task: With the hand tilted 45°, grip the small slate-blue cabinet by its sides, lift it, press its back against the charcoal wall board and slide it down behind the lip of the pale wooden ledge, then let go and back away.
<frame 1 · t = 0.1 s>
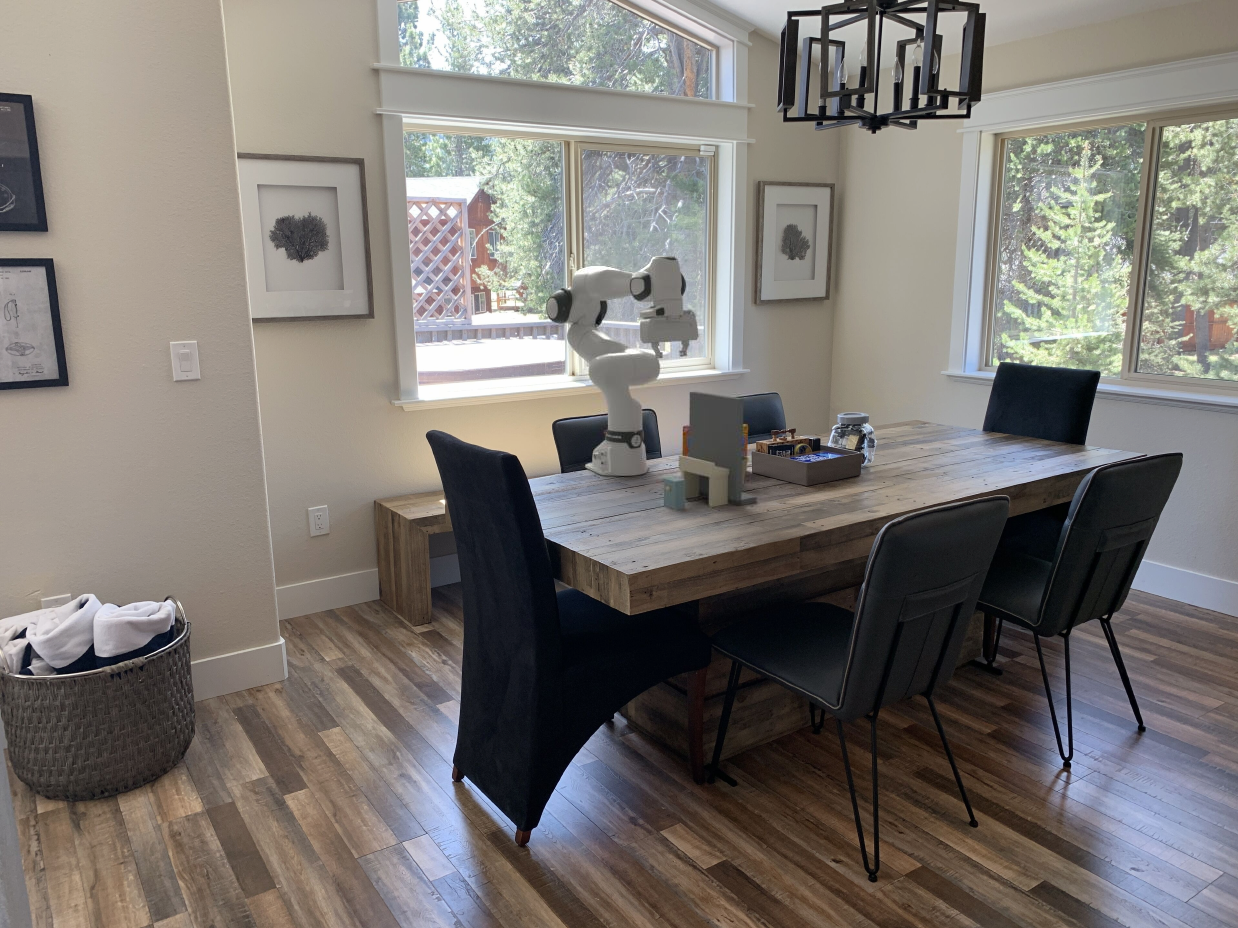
hand: (671, 357, 271), 39 cm above the table, tool pointing down, fingers open, 8 cm apart
small cabinet: (674, 507, 252), on the table
flower pot: (732, 486, 277), on the table
wall board: (714, 498, 261), on the table
game box: (714, 472, 297), on the table
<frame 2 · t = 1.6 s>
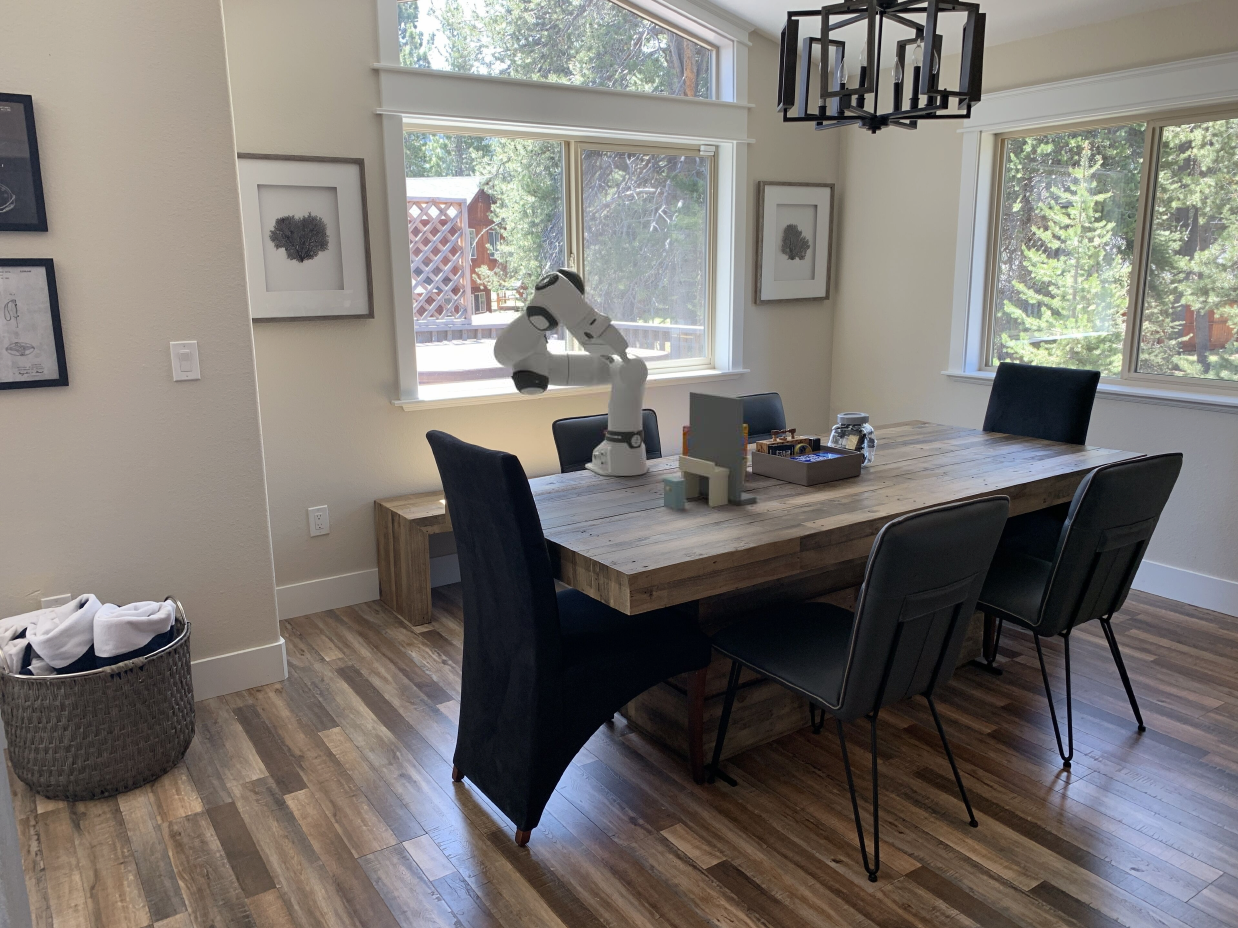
hand: (620, 363, 239), 40 cm above the table, tool tilted 45°, fingers open, 8 cm apart
nothing on the table moved.
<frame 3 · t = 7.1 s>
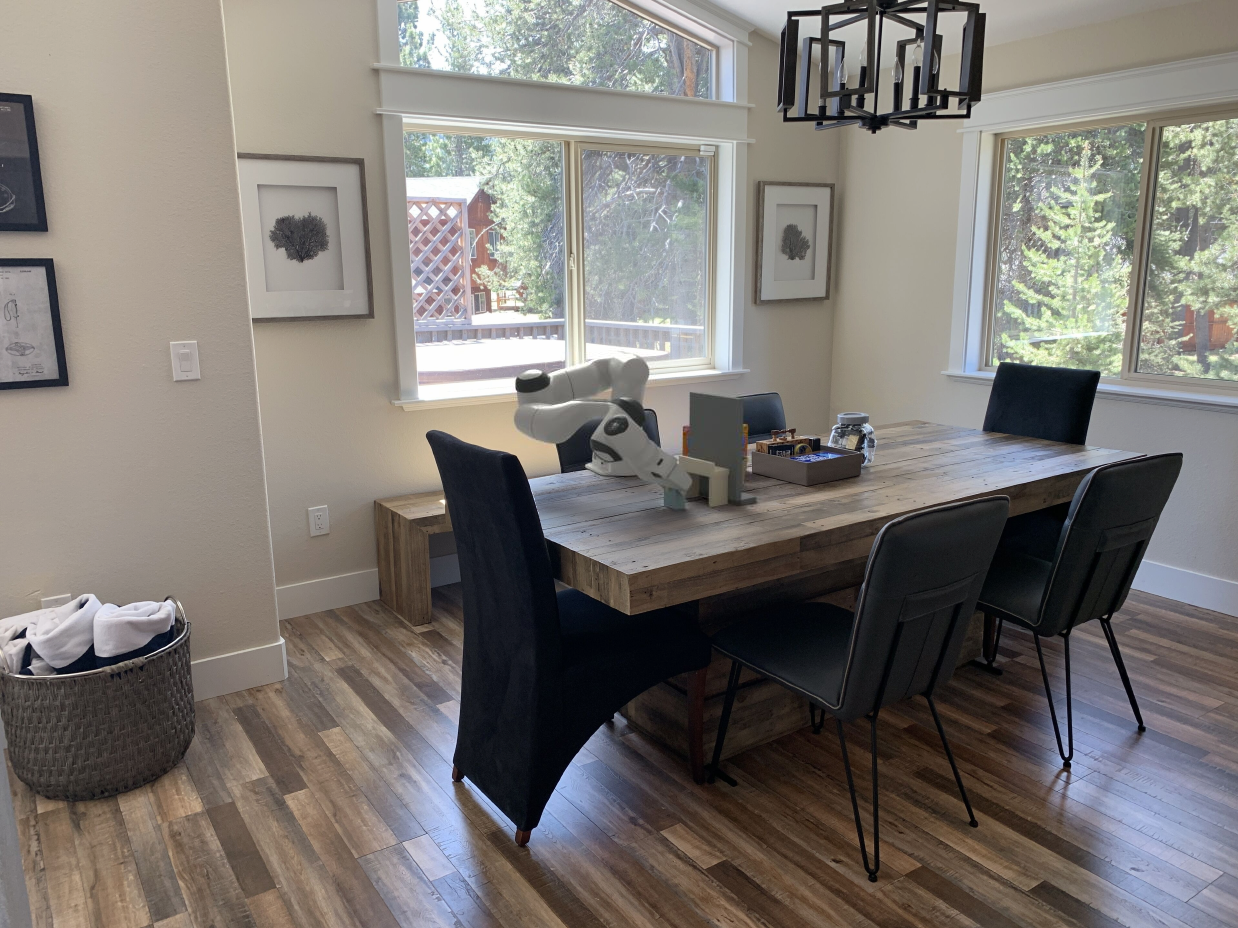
hand: (676, 491, 251), 4 cm above the table, tool tilted 45°, fingers closed on small cabinet, 5 cm apart
small cabinet: (674, 506, 252), on the table, touching gripper
everything else where it was.
when the fingers open (16 cm above the table, at t = 12.8 s): small cabinet drops 1 cm, resting on wall board.
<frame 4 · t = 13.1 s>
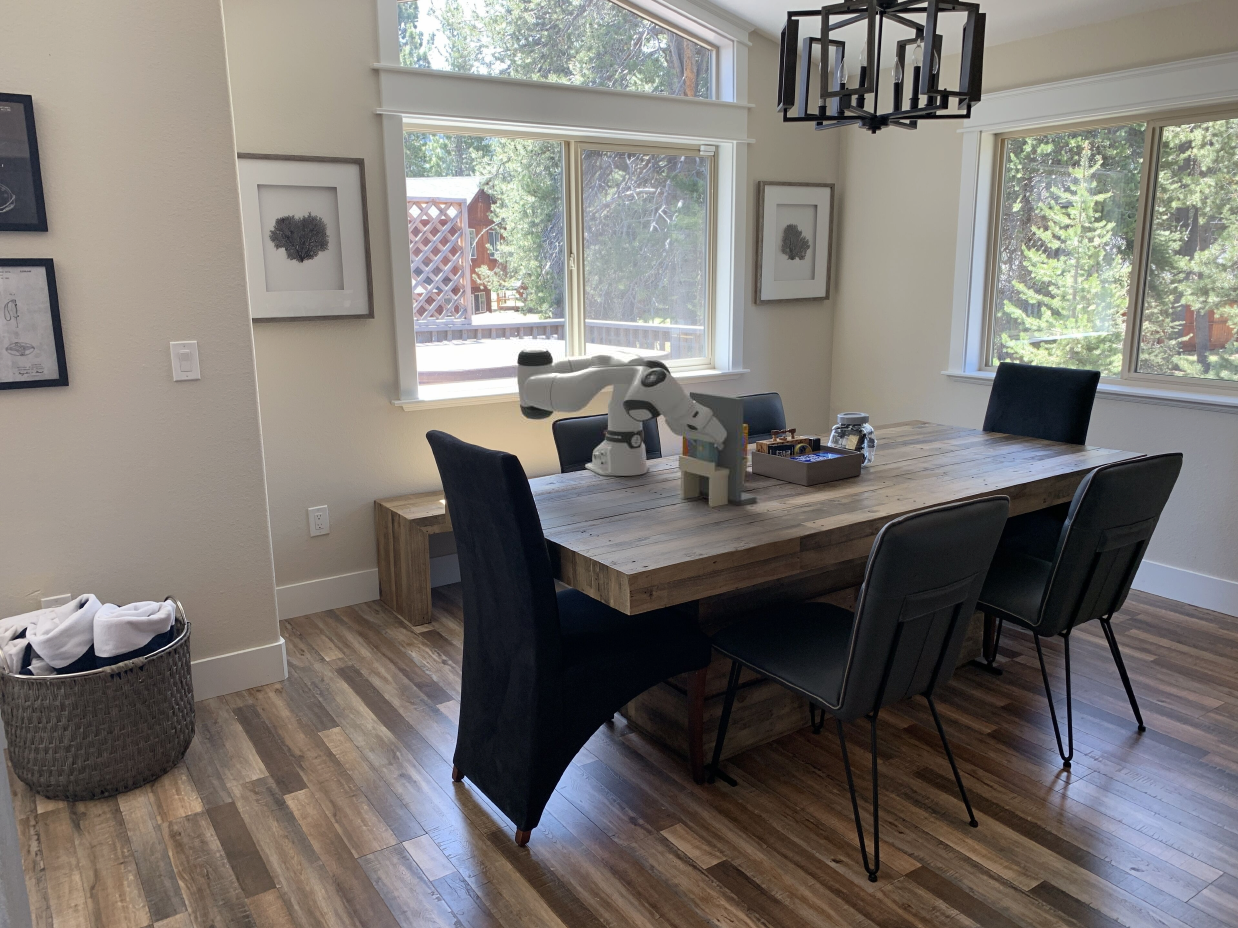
hand: (709, 445, 256), 16 cm above the table, tool tilted 45°, fingers open, 8 cm apart
small cabinet: (707, 466, 257), point 10 cm above the table, touching wall board
everything else where it was.
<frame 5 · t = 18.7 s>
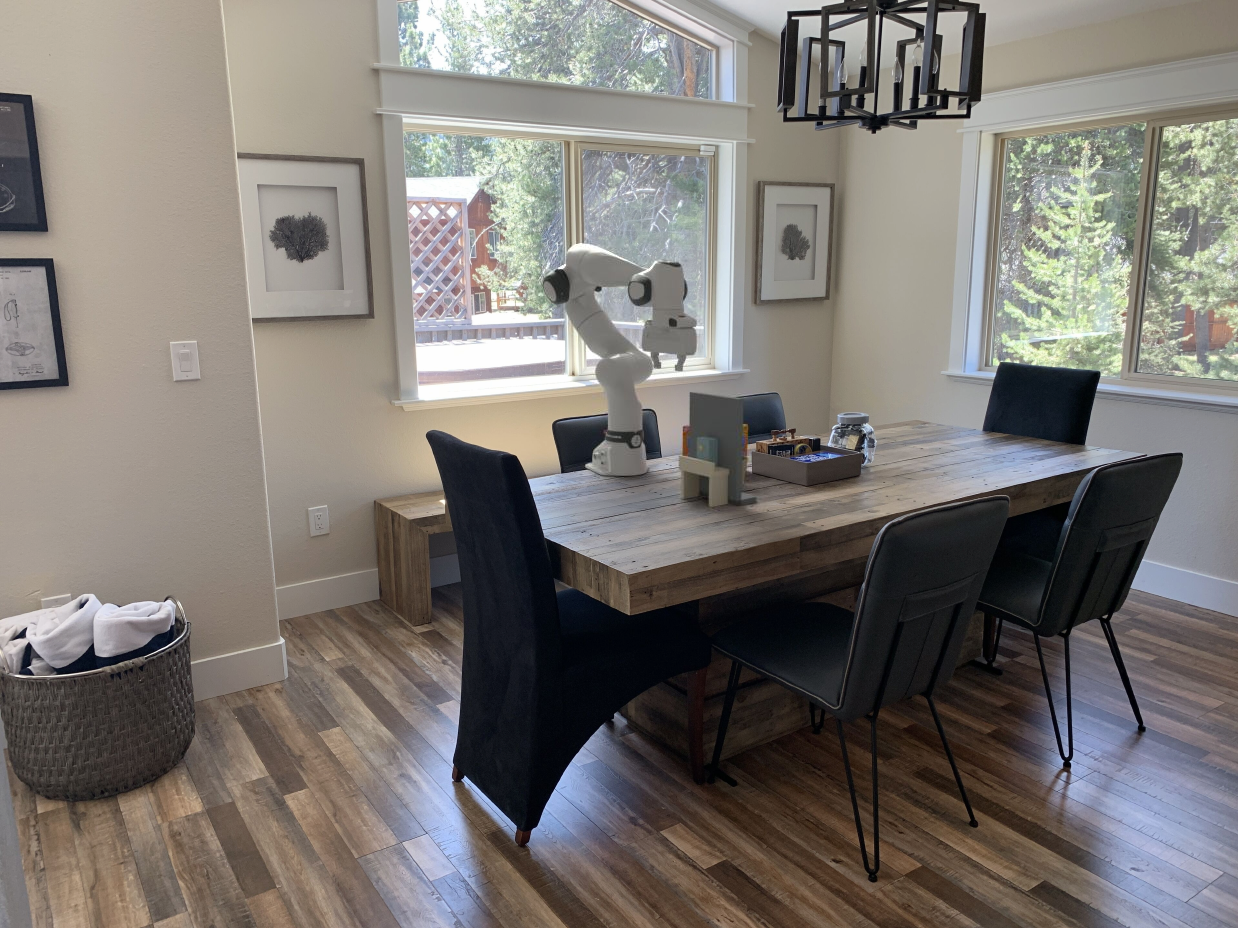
hand: (667, 369, 254), 37 cm above the table, tool pointing down, fingers open, 8 cm apart
nothing on the table moved.
at the end: small cabinet inside the target area (0.9 cm from its centre), point 10.0 cm above the table; small cabinet tilted 0°; the gripper is holding nothing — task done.
